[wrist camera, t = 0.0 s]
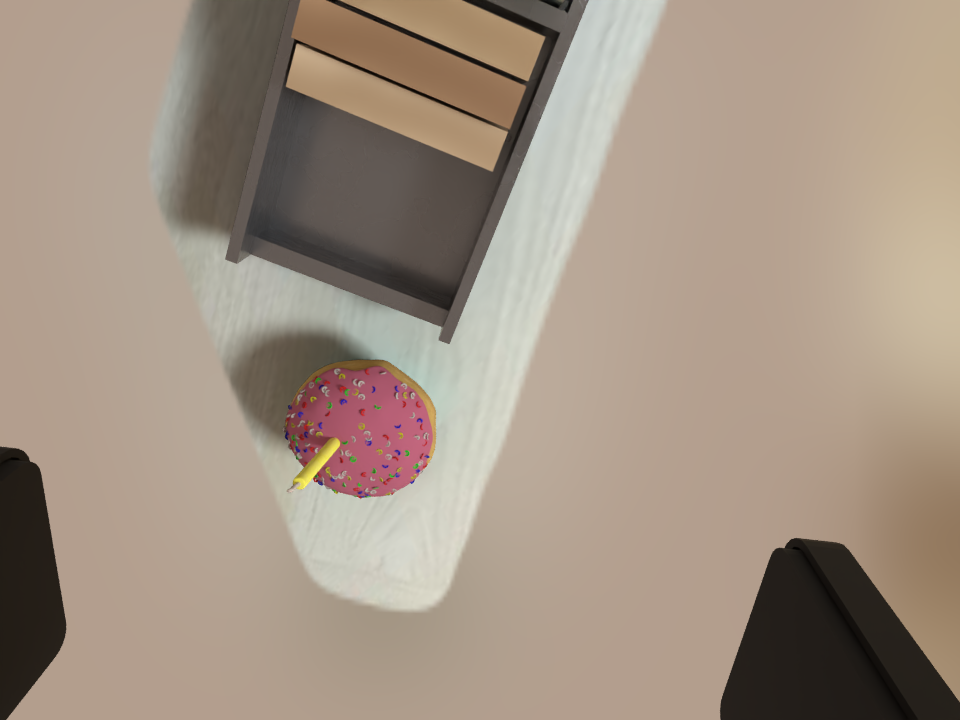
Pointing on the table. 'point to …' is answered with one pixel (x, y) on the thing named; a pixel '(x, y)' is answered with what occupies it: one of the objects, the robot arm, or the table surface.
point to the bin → (386, 184)
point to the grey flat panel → (553, 2)
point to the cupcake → (361, 428)
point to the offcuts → (417, 69)
